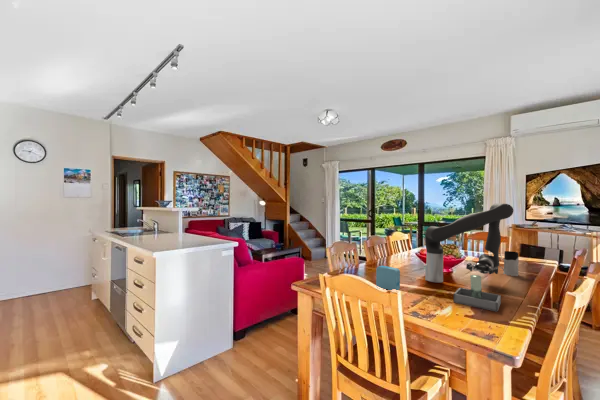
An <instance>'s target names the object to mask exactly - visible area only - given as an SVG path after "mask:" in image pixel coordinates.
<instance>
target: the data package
mask: <svg viewBox="0 0 600 400" xmlns="http://www.w3.org/2000/svg"><path fill="white" fill-rule="evenodd" d="M375 270H376V271H375V272H376V275H375V277H376V278H375V279H376V280H375V281H376V282H375V284H376V285H377V286H379V287H381V288H384V289H388V290H392V289H396V290H398V291H399V290H400V288H401V270H400V269H399V268H397V267H392V266H388V265H387V266H386V265H378V266H377V267H376V269H375ZM377 286H376V287H377ZM384 289H383V290H384ZM388 290H387V291H388Z"/></svg>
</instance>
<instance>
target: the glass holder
mask: <svg viewBox="0 0 600 400" xmlns="http://www.w3.org/2000/svg"><path fill="white" fill-rule="evenodd" d="M503 255H504V258H503V257H502V254H501V253H500V252H499V256H500V259H501V260H503V267H502V266H500V265H499V268H501V269H502V270H503V273H502V274H503V275H505V274H506V275H505V276H509V275H511V277H519V276H520V274H519V252H518V251H517V252H516V251H512V250H509V251H508V250H505V251H504V254H503ZM518 275H519V276H518Z"/></svg>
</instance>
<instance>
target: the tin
mask: <svg viewBox="0 0 600 400" xmlns="http://www.w3.org/2000/svg"><path fill="white" fill-rule="evenodd" d="M469 276H470V277H469V278H470V290H471V297H473V298H478V299H482V292H483V291H482V276H481V275H479V274H470V275H469Z"/></svg>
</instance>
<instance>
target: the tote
mask: <svg viewBox="0 0 600 400" xmlns="http://www.w3.org/2000/svg"><path fill="white" fill-rule="evenodd" d="M501 296H502V295H501V294H496V293H492V292H486V291H485V292H484V291H482V299H478V298H473V297H471V288H464V287H459V288H457V289H456V291H455V292H454V293H453V303H456V304H459V305H465V306H469V307H474V308H477V309H483V310H487V311H491V312H496V313H498V312H499V309H500V306H501V303H502V302H501V301H502V299H501V298H502V297H501Z"/></svg>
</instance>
